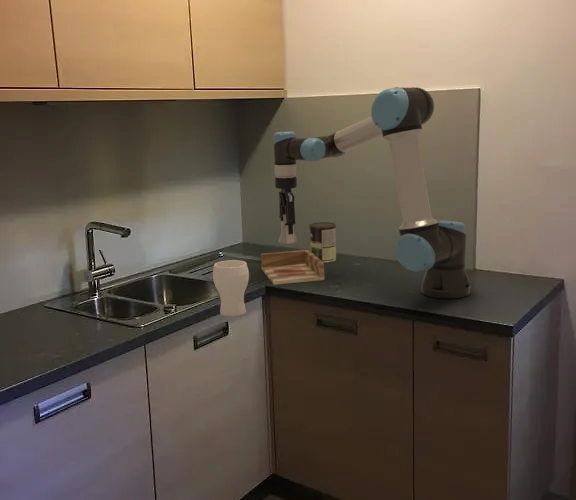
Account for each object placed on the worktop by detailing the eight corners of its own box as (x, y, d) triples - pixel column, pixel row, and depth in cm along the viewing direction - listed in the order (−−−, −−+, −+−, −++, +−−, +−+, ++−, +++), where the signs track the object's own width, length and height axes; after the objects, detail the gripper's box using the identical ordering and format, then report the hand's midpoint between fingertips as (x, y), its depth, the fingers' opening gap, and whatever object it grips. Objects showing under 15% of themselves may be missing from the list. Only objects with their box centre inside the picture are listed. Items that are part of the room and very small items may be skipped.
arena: (324, 279, 231) (324, 262, 229) (273, 284, 227) (273, 267, 225) (308, 265, 252) (307, 249, 250) (261, 269, 248) (261, 253, 246)
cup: (228, 305, 205) (225, 258, 202) (257, 309, 200) (255, 261, 197) (208, 315, 196) (204, 266, 193) (237, 320, 191) (234, 269, 188)
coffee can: (309, 262, 256) (308, 227, 253) (311, 256, 266) (310, 222, 263) (335, 262, 254) (334, 226, 251) (337, 256, 264) (336, 222, 261)
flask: (297, 244, 233) (296, 216, 230) (276, 244, 233) (275, 216, 231) (298, 240, 240) (298, 212, 237) (279, 240, 240) (277, 213, 238)
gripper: (303, 178, 223) (305, 245, 228) (289, 173, 241) (291, 234, 246) (281, 180, 221) (283, 247, 226) (269, 174, 240) (272, 236, 245)
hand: (287, 240), depth 236 cm, fingers closed on flask, 7 cm apart
